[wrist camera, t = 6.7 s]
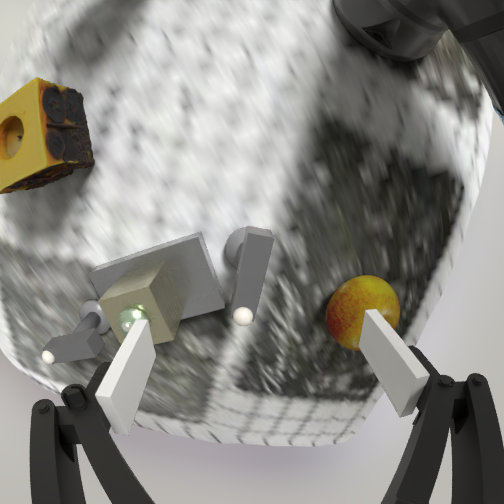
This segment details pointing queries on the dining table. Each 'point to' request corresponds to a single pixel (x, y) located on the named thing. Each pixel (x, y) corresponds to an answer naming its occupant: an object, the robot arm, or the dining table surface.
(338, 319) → the fruit
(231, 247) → the knob
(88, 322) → the knob
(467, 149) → the dining table surface
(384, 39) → the robot arm
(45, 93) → the candle
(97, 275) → the level base
